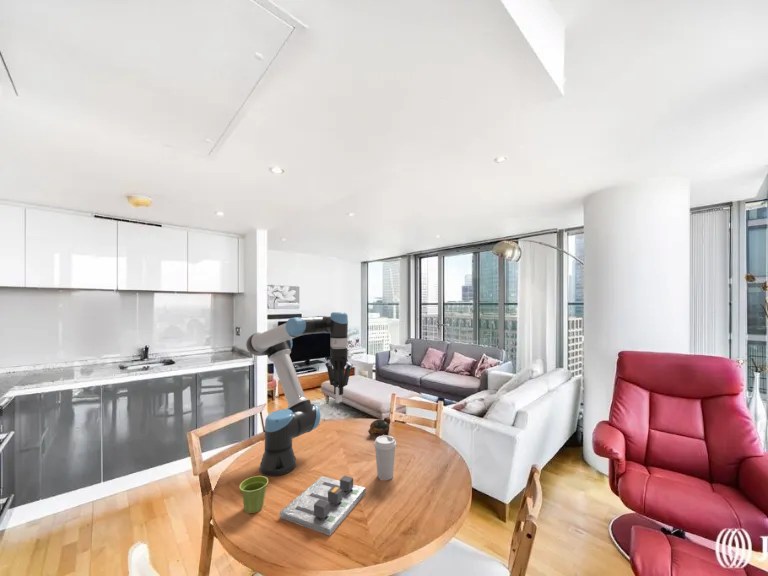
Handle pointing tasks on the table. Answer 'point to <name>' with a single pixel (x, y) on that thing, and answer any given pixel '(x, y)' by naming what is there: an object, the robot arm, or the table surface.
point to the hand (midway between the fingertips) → (338, 402)
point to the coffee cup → (385, 456)
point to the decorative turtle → (380, 426)
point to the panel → (304, 503)
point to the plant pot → (253, 493)
